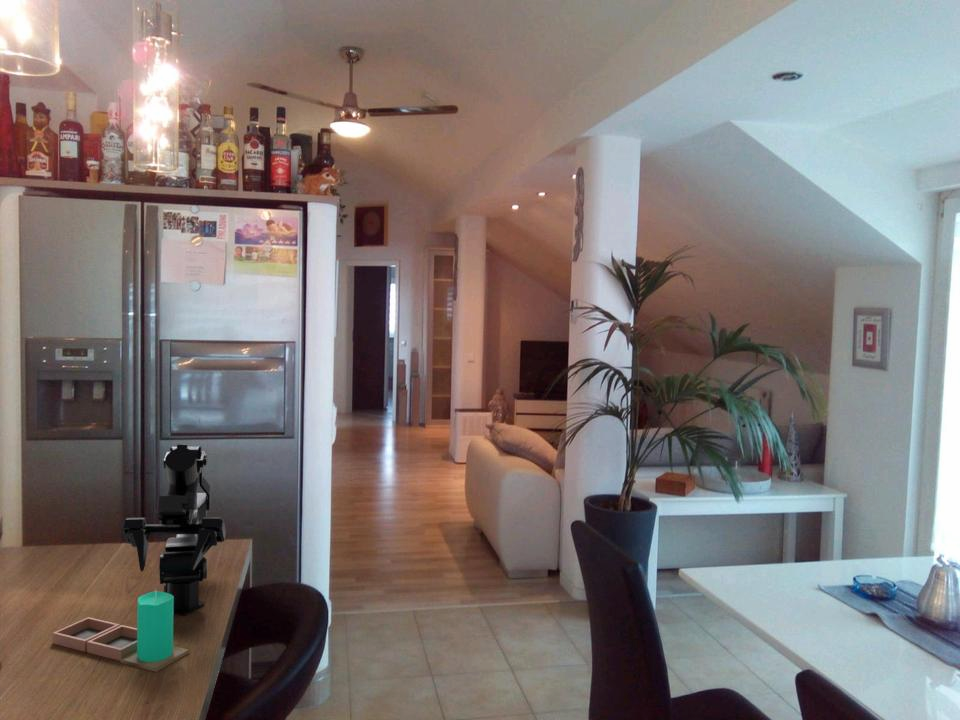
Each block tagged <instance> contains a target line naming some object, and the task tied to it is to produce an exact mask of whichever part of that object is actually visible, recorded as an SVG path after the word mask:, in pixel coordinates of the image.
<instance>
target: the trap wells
mask: <svg viewBox="0 0 960 720" xmlns="http://www.w3.org/2000/svg"><path fill="white" fill-rule="evenodd" d="M51 634H52V640H51V641H52V643H51V644H53V645H57V646H61V647H66V648H68V649H73V650H76V651H80V652H86V653H89V654H92V655H96V656H100V657H104V658H108V659H113V660H116V661H120V662H121V659H123V658H124V657H126V656H128V655H130V654H132V653H134V652H136V651H137V627H132V626H129V625H128V626H127V625H124V624H123V625H122V624H119V623H117V622H116V623H115V622H111V621H106V620H102V619H98V618H94V617H89V616H88V617H85V618H83V619H80V620H79V621H77V622H74V623H72V624H70V625H67V626H65V627H63V628H61V629H58V630H56V631H53V632H52V633H51Z"/></svg>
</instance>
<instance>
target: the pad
mask: <svg viewBox="0 0 960 720" xmlns="http://www.w3.org/2000/svg"><path fill="white" fill-rule="evenodd" d="M189 652H190V649H187V648H184V647H180V646H177V645H176V646H175V645H173V652H172V654H171V656H169V657H167V658H166V659H163V660H159V661H151V662H146V661H141V660H139V659H138V657H137V651H136V652H134V653H132V654H130V655H128V656H126V657H124V658H123V659H121V661H120V663H121V664H124V665H128V666H133V667H136V668H139V669H143V670H148V671H151V672H156V673H157V672H159V671H160V670H162V669H163V668H165V667H166V666H169V665H170V664H172V663H174V662H175V661H177V660H179V659H180V658H182V657H184V656H186V655H188V654H190V653H189Z"/></svg>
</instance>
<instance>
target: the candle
mask: <svg viewBox="0 0 960 720" xmlns="http://www.w3.org/2000/svg"><path fill="white" fill-rule="evenodd" d="M136 612H137V614H136V617H137V618H136V621H137V623H136V624H137V626H136V628H137V657H138V659H139V660H141V661H146V662H151V661H159V660H163V659H166V658H167V657H169V656H171V654H172V652H173V646H174V614H175V613H174V596H173V595H171V594H168V593H165V592H164V591H157V590H154V591H151V592H148V593H144V594H142V595H139V597H138V599H137V611H136Z"/></svg>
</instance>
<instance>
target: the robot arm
mask: <svg viewBox="0 0 960 720" xmlns="http://www.w3.org/2000/svg"><path fill="white" fill-rule="evenodd" d="M202 449H203V448H202V445H199V446H198V445H195V446H194V445H192V446H191V445H188V443H183V444H182V443H179V444H178V443H177V445H175V446H170V448H169V451H166V452H165V456H164V457H163V468H164V469H165V470H166V478H167V483H168V487H167V492H166V494H165V495H158V497H157V507H156V513H157V514H158V515H157V520H158V521H160V523H159V524H157V523H156V524H151V523H150V524H148V522H147V519H146V517H126V518H125V519H124V520H123V521H122V523H121V528H120V531H121V533H122V536H123V538H124V541H125V543H126V544H130V545H131V547H134V548H136V550H137V557H138V565H139V570H140V572H144V570H145V567H146V562H147V556H148V551H149V543H148V541H149V537H150V536H151V535H153V536H154V535H155V536H156V535H162V536H163V535H175V537H169V538H168V539H166V544H165V548H164V550H163V554H160V556H159V565H158V567H159V569H158V570H159V585H162V584H163V585H164V586H163V592H165V593H168V594H171V595H173V596H174V614H175V615H179V616H185V615H187V614H188V613H191V612H192V611H195V610H197V609H198V608H201V607H202V606H204V605H205V602H204V601H200V582H203V581H204V580H205V579H208V562H207V561H208V560H207V558H206V557H205V555H206V554H207V552H208V551H209V550H210V549H211V548H212V547H215V546H218V543H223V542H225V539H226V532H227V531H226V526H225V519H224V518H223V517H222V516H207V515H208V512H210V511H211V494H212V493H211V486H210V484H209V483H208V481H207V480H206V479H205V477H204V468H205V467H206V465H207V464H208V455H207V453H206V452H205V450H202ZM199 487H200V488H201V489H202V491H198V490H199Z"/></svg>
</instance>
